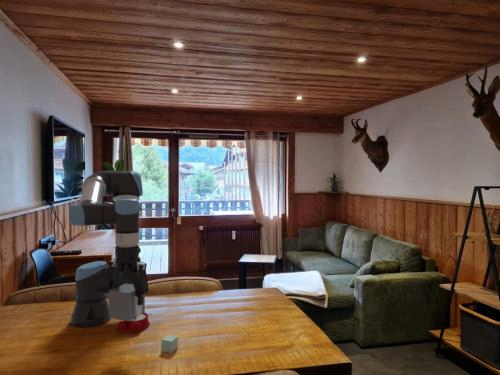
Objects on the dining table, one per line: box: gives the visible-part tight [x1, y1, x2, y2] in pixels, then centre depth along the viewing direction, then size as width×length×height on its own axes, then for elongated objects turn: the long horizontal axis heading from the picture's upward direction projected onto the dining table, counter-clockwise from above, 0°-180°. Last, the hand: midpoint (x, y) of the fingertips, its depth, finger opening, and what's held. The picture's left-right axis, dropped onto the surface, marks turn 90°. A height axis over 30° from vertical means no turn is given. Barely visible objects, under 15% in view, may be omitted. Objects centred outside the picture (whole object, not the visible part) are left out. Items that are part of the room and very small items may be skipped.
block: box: [160, 334, 179, 354], centre depth 116 cm, size 4×4×4 cm
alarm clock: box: [117, 312, 152, 334], centre depth 132 cm, size 10×6×15 cm
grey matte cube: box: [108, 284, 146, 321], centre depth 113 cm, size 8×8×9 cm
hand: (127, 312), depth 113 cm, fingers closed on grey matte cube, 8 cm apart
